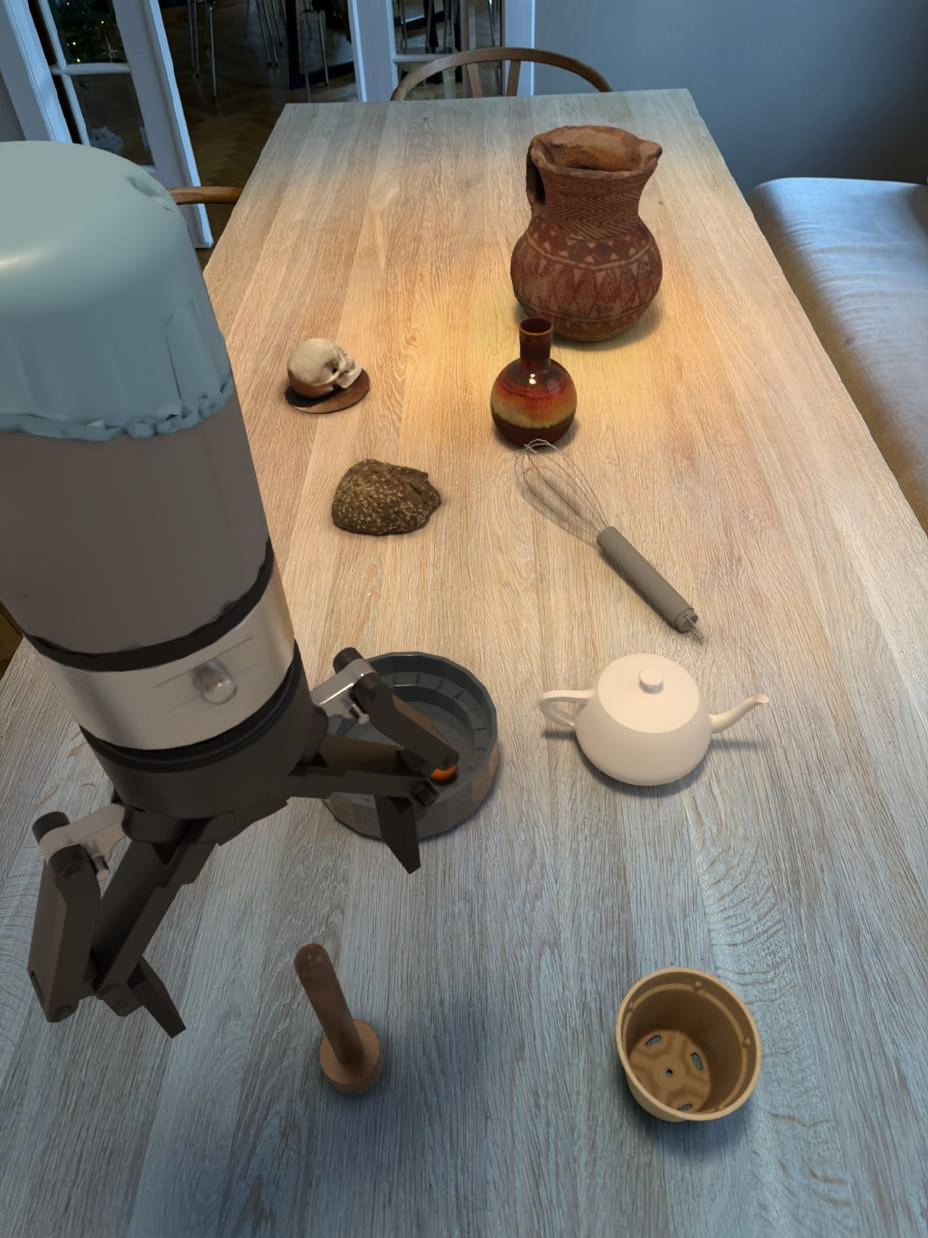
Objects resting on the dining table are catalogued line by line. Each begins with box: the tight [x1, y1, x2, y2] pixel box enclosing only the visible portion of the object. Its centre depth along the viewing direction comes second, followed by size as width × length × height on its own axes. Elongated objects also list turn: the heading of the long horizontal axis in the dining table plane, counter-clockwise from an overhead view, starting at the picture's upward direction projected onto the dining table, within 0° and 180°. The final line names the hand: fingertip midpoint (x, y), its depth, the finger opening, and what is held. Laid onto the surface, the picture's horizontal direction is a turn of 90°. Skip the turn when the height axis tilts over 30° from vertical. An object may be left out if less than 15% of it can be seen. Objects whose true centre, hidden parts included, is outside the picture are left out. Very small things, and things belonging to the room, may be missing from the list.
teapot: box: [539, 652, 770, 787], centre depth 80 cm, size 20×12×10 cm, turn 85°
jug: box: [509, 124, 664, 342], centre depth 125 cm, size 22×21×25 cm
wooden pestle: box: [293, 943, 385, 1096], centre depth 58 cm, size 4×4×21 cm
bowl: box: [322, 650, 499, 840], centre depth 81 cm, size 17×17×6 cm
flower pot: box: [615, 966, 763, 1123], centre depth 61 cm, size 9×9×9 cm
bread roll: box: [330, 457, 442, 536], centre depth 106 cm, size 13×12×5 cm
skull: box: [283, 337, 370, 414], centre depth 123 cm, size 12×10×10 cm
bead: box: [430, 763, 457, 781], centre depth 80 cm, size 3×3×3 cm
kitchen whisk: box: [513, 439, 705, 640], centre depth 99 cm, size 6×34×6 cm, turn 31°
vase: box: [489, 316, 578, 450], centre depth 111 cm, size 11×11×15 cm
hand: (291, 927), depth 45 cm, fingers open, 13 cm apart
